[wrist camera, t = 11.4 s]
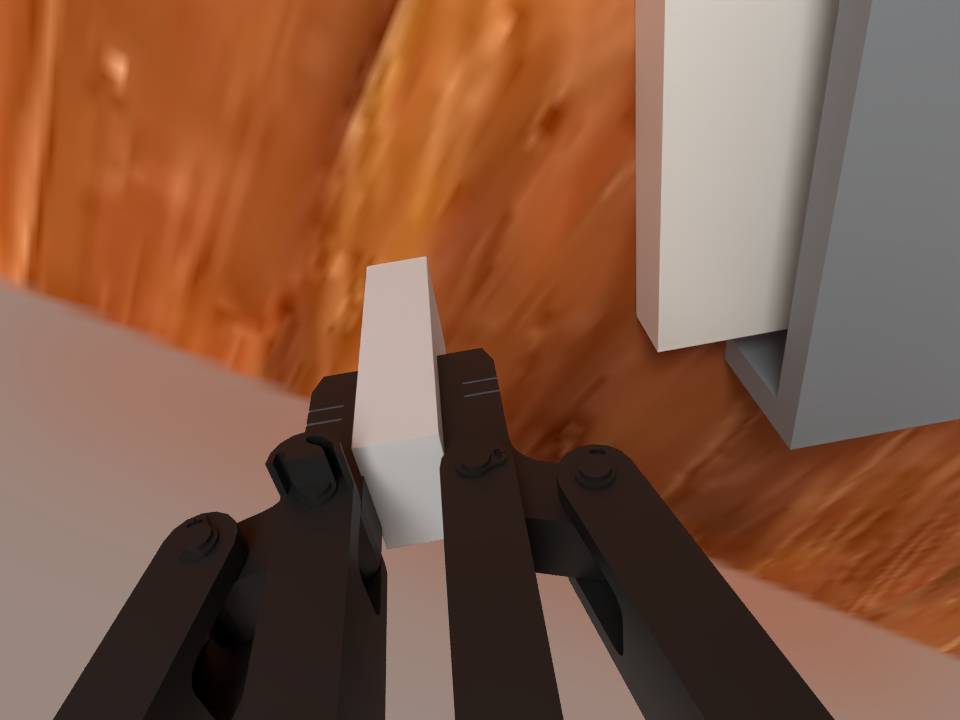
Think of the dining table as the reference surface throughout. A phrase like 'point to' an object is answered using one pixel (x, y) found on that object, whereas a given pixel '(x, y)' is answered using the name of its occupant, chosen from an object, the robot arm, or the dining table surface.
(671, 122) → the pale grey flat slab
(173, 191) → the dining table surface
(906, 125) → the low overhang
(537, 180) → the dining table surface
